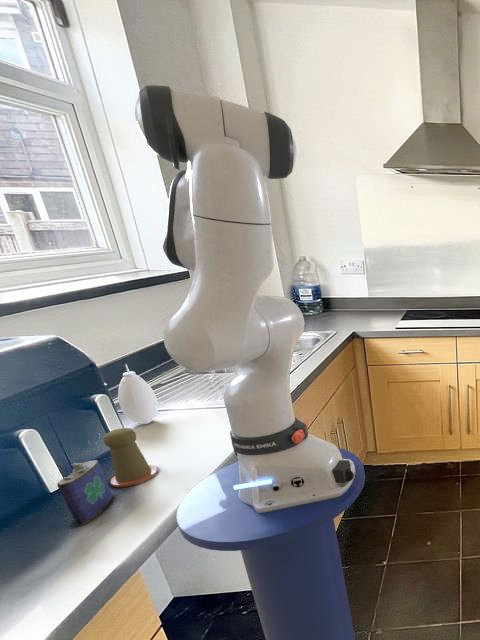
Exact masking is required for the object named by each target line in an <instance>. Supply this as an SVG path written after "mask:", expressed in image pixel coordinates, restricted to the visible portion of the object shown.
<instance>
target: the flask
mask: <svg viewBox="0 0 480 640" xmlns="http://www.w3.org/2000/svg"><path fill="white" fill-rule="evenodd" d="M71 466H74V468H72V473H69V475H68V476H64V477H62V479H60V480H59V481H58V482H57V484H56V485H57V488H58V490H59V491H60V495H61V496H62V498H63V499H64V502H65V504H66V507H67V509H68V511H69V513H70V514H71V517H72V518H73V520H74V524H75V526H78V525H79V526H80V525H83V524H86V523H89V522H91V521H92V520H93V519H95V518H96V517H97V516H99V514H101V513H102V512H103V511H104V510H105V508H106V507H107V506H108V505H109V504H110V503H111V502H112V501H113V498H114V497H113V493H112V491H111V488H110V487H109V484H108V482H107V479H106V478H105V475H104V474H105V473H104V472H103V469H102V467H101V465H100V462H99V460H96V459H93V460H89V461H84V462H74V463H72V464H71Z"/></svg>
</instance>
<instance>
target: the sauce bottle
mask: <svg viewBox="0 0 480 640" xmlns="http://www.w3.org/2000/svg"><path fill="white" fill-rule="evenodd" d="M124 365H125V369H126V372H123V373H122V378H121V380H120V382H119V385H118V390H117V399H118V400H117V401H118V405H119V407H120V410H121V412H122V413H123V415H124V416H125V417H126V418H127V420H129V421H130V422H132V423H136V424H138V425H148V424H150V423H152V421H154V419H155V418H156V417H157V416H158V412H159V401H158V398H157V395H156V393H155V392H154V390H153V388H152V387H151V386H150V384H148V382H147V381H146V380H144V379H143V378H142V377H141V376H139V375H137V374H136V372H135V371H130V369H129V367H128V364H127V363H125V364H124Z"/></svg>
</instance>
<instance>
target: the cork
mask: <svg viewBox="0 0 480 640" xmlns="http://www.w3.org/2000/svg"><path fill="white" fill-rule="evenodd" d="M136 440H137V433H136V432H135V430H134V429H132V428H130V427H121V428H117V429H113V430H110V431H108V432H107V433H106V434H105V435H104V436H103V443H104V445H105V446H106V447H107V448H109V449H110V454H111V460H112V466H113V472H114V476H115V478H116V481H118V482H128V481H133V480H136V479H139V478H142V477H144V476H145V475H147V474H148V473H150V471H151V468H150V467H149V464H148V461H147V460H146V458H145V456H144V455H143V453H142V451H141V450H140V448H139V446H138V444H137V443H136Z"/></svg>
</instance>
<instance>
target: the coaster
mask: <svg viewBox="0 0 480 640" xmlns="http://www.w3.org/2000/svg"><path fill="white" fill-rule="evenodd" d="M148 465H149V464H148ZM149 467H150V468H151V471H150V473H148V474H147V475H145V476H144V477H142V478H139V479H136V480H133V481H128V482H118V481H116V478H115V475H114V476H113V477H112V478H111V479H110V480H109V483H110V485H111V486H112V487H115V488H126V487H131V486H135V485H138V484H141V483H144V482H146V481H148V480H150V479H152V478H153V477H155V476H156V475H157V473H158V470H159V469H158V467H156V466H155V465H152V464H151V465H149Z"/></svg>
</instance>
